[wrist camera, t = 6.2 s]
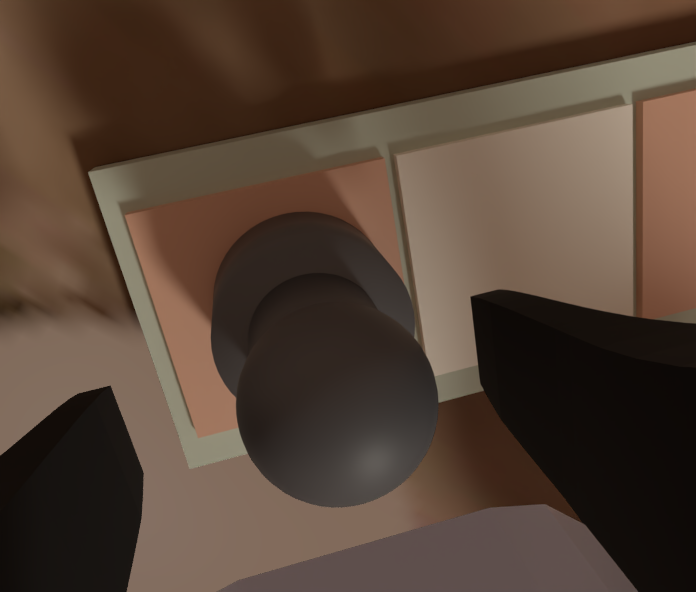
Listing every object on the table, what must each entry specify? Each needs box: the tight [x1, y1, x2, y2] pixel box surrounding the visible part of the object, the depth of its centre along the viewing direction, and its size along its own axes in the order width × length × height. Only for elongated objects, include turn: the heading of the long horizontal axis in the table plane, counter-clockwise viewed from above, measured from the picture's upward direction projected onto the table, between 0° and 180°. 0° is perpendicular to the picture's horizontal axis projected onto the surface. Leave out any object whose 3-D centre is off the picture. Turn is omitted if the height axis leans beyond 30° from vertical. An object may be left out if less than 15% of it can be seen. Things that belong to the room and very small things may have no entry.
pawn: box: [211, 212, 438, 507], centre depth 13 cm, size 5×5×7 cm
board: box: [88, 42, 696, 469], centre depth 18 cm, size 9×28×1 cm, turn 100°
